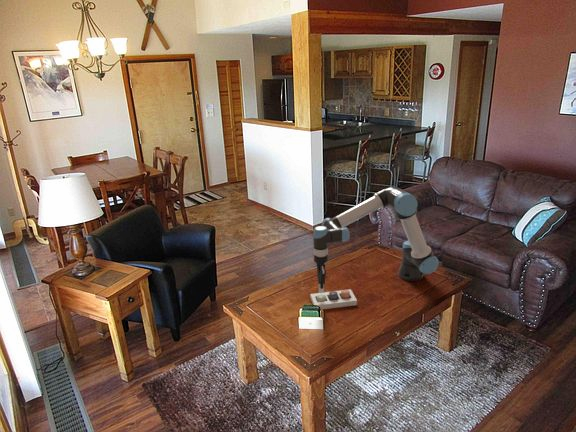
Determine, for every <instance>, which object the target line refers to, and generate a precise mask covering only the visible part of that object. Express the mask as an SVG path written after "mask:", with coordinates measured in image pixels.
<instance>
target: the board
mask: <svg viewBox="0 0 576 432" xmlns="http://www.w3.org/2000/svg"><path fill="white" fill-rule="evenodd" d="M342 290H343V289H341V290H334V291H335V292H337V293H338V299H337V300H330V299H329V292H330V291H324V293H319V292H316V293H310V301H311V304H312V305H317V306H319V307H320V308H321V310H328V309H335V308H345V307H352V306H357V305H358V300H357V298H356V295H354V292H353V290H352V289H351V288H349V289H347V290H348V291H349V292H350V297H349V298H347V299H343V298H341V291H342ZM318 295H324V296H325V297H326V301H323V302H317V296H318Z"/></svg>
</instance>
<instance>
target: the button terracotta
mask: <svg viewBox="0 0 576 432" xmlns="http://www.w3.org/2000/svg"><path fill="white" fill-rule="evenodd" d="M341 290H342V291H341V299H347V298H349V297H350V292H349V291H348V290H349V289H341Z"/></svg>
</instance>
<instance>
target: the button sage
mask: <svg viewBox="0 0 576 432" xmlns="http://www.w3.org/2000/svg"><path fill="white" fill-rule="evenodd" d="M323 301H326V297H325V296H324V295H318V296H317V302H323Z"/></svg>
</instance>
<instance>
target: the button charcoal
mask: <svg viewBox="0 0 576 432" xmlns="http://www.w3.org/2000/svg"><path fill="white" fill-rule="evenodd" d="M335 291H336V290H333V291H328V292H329V301H331V300H338V293H337V292H335Z"/></svg>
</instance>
